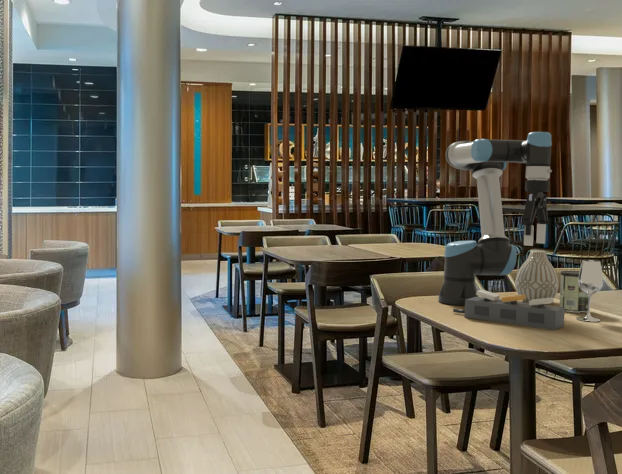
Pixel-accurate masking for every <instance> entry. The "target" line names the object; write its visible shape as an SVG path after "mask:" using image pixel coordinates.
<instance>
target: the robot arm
mask: <svg viewBox="0 0 622 474" xmlns="http://www.w3.org/2000/svg"><path fill="white" fill-rule="evenodd" d="M552 145H553V143H552V134H551V133H550V132H548V131H532V132H529V133H528V134H527V137H526V139H525V140H521V139H520V140H519V139H493V138H492V139H487V138H480V139H475V140H460V141H459V140H458V141H456V142H453V143H451V144H449V146H448V147H447V148H446V151H445V155H444V156H445V160H446V162H447V164H448V165H449V166H451V167H452V168H454V169H457V170H460V171H461V170H462V171H471V172H472V173H471V174H472V175H471V176H472V178H474V179H475V180H476V184H477V185H476V186H477V197H478V208H479V209H478V210H479V211H478V212H479V221H480V234H481V237H480V238H479V240H478V241H476V240H458V241H452V242H449V243H447V244H446V245H445V247H444V248H445V249H444V254H443V256H444V263H443V265H444V267H443V269H444V270H443V283H442V286H441V289H440V291H439V294H438V298H437V299H438V300H437V301H438V302H439V303H441V304H445V305H447V304H448V305H453V306H454V305H455V306H465V300H466V299H469V298H473V297H480V296H478V295H476V293H477V291H478V288H477V286H476V276H498V277H499V276H508V275H510V274H511V273H512V272H514V271H513V270H514V269H515V266H516V263H517V256H518V255H517V249H516V247H515V245H513V244H510V238H509V237H507V236H506V234H505V226H504V225H505V224H504V214H503V206H502V205H503V204H502V193H501V185H500V183H501V181H500V177H501V176H502V175H503V173H504V172H503V171H505V170H506V169H507V164H508V163H518V164H525V178H526V179H527V180H525V181H524V182H525V183H524V184H525V185H524V186H525V187H524V190H525V192H529V193H530V194H528V193H527V194H526V200H525V201H526V202H525V206H524V211H523V217H522V222H521V226H524V228H523V229H524V231H523V246H528V247H530V246H531V247H533V246H534V231H535V229H534V225H533V224H534V221H535V218H536V219H537V223H536V242H535V243H536V244H543V245H544V244H546V232H547V231H546V229H547V225H549V223H550V221H549V215H548V206H547V194H544V193H548V192H550V184H551V182H550V181H549V179H550V177H551V173H552V172H553V170H552V169H551V160H552Z"/></svg>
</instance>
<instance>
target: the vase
mask: <svg viewBox="0 0 622 474" xmlns="http://www.w3.org/2000/svg"><path fill="white" fill-rule="evenodd" d="M514 286H515V290H516V295H524V294H525V295H526V299H523V300H522V302H525V303H526V302H527V303H529V301H530V300H533V299H543V298H553V299H554V298H555V297H556V295H557V293H558V290H559V277H558V274H557V272H556V270H555V268H554V266H553V265H552V263H551V262H550V261H549V258H548V255H547V252H546V251H545V250H538V249H537V250H533V249H531V250H530V252H529V254H528V257H527V258H526V260H525V261H524V262H523V263H522V265H521V266H520V268H519V269H518V271H517V273H516V276H515V281H514Z"/></svg>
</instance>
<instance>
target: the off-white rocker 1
mask: <svg viewBox="0 0 622 474" xmlns="http://www.w3.org/2000/svg"><path fill="white" fill-rule="evenodd" d="M476 295H478V296H479V297H484V298H487V299H489V300H492V301H495V300H499V299H500V296H501V295H500V294H497V293H494V292H491V291H488V290H485V289H479V290H478V289H477V293H476Z"/></svg>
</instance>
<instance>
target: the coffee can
mask: <svg viewBox="0 0 622 474" xmlns="http://www.w3.org/2000/svg"><path fill="white" fill-rule="evenodd" d="M579 271H580V270H562V271H560V289H559V291H560V292H559V293H560V295H559V307H565V311H566V312H565V313H570V312H574V313H573V314H581V313H580V312H588V295H587V294H586V293H584V292H583V291H582V290H581V289H580V288H579V286H578V275H579Z"/></svg>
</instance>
